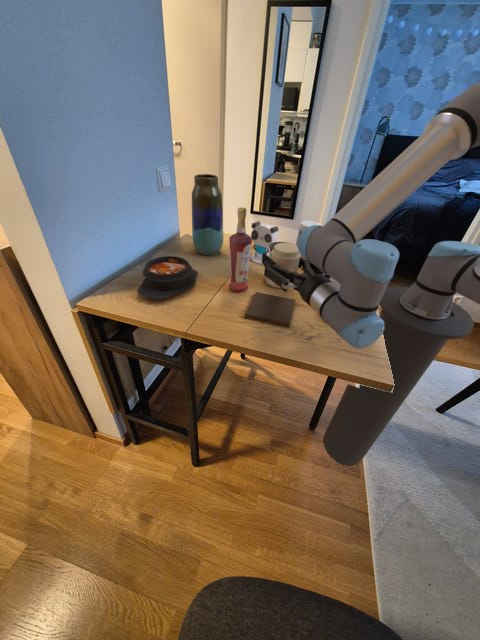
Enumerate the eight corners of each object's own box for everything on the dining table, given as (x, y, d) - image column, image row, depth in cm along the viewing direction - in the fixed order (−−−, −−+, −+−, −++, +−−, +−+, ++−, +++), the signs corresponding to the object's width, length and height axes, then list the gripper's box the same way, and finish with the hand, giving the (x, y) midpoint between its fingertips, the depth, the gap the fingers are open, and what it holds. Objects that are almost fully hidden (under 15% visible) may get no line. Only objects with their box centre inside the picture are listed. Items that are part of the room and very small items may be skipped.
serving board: (294, 303, 89) (295, 299, 88) (288, 327, 79) (289, 323, 78) (255, 295, 92) (255, 291, 91) (244, 317, 81) (244, 313, 81)
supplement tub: (292, 257, 120) (297, 224, 111) (296, 249, 127) (302, 219, 118) (313, 261, 118) (320, 228, 109) (316, 253, 125) (323, 222, 116)
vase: (193, 246, 125) (189, 172, 106) (222, 246, 127) (222, 173, 108) (192, 258, 114) (187, 178, 95) (224, 258, 116) (225, 179, 97)
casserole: (170, 266, 107) (167, 247, 102) (209, 277, 101) (209, 257, 96) (125, 295, 88) (119, 272, 83) (169, 310, 83) (166, 287, 78)
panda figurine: (244, 257, 117) (246, 224, 108) (259, 250, 124) (262, 218, 115) (265, 266, 111) (269, 231, 102) (280, 258, 118) (285, 225, 109)
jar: (296, 277, 79) (303, 244, 73) (293, 290, 73) (300, 255, 66) (270, 273, 81) (275, 240, 74) (265, 285, 74) (269, 250, 68)
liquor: (238, 296, 91) (243, 213, 74) (224, 288, 95) (224, 208, 78) (252, 289, 95) (259, 209, 78) (237, 281, 99) (241, 204, 82)
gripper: (280, 316, 59) (243, 272, 76) (352, 301, 66) (304, 263, 82) (285, 288, 54) (244, 247, 71) (362, 274, 61) (309, 240, 78)
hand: (276, 256), depth 77 cm, fingers closed on jar, 8 cm apart
